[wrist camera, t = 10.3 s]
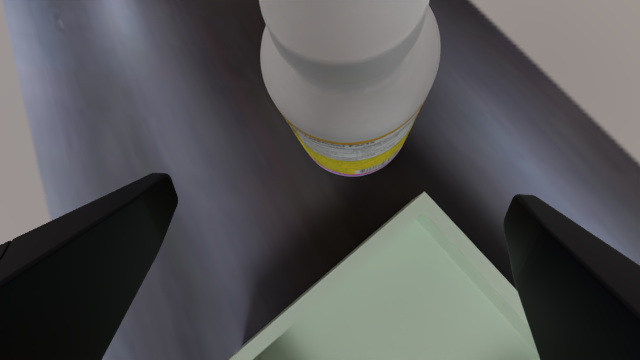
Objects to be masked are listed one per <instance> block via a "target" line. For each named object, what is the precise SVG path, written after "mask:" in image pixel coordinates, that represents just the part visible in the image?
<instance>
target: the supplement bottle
mask: <svg viewBox="0 0 640 360" xmlns="http://www.w3.org/2000/svg"><path fill="white" fill-rule="evenodd" d="M429 1H430V0H259V3H260V8H261V13H262V16H263V18H264V21H265V24H266V27H265V29H264V33H263V36H262V42H261V51H260V63H261V70H262V76H263V79H264V83H265V86H266V88H267V91H268V93H269V95H270V97H271V98H272V100H273V102H274V103H275V105H276V107H277V108H278V110H279V111H280V112H281V114H282V115H283V117H284V118H285V120H286V121H287V123H288V124H289V126H290V127H291V129H292V130H293V132H294V133H295V135H296V136H297V138H298V139H299V141H300V142H301V144H302V145H303V147H304V148H305V150H306V151H307V152H308V154H309V155H310V157H311V158H312V159H313V160H314V161H315V162H316V163H317V164H318V165H320V166H321V167H322V168H324V169H326V170H328V171H329V172H332V173H335V174H338V175H342V176H363V175H367V174H371V173H373V172H375V171H377V170H379V169H381V168H383V167H384V166H386V165H387V164H388V163H389V162H390V161H391V160H392V159H393V158H394V157H395V156H396V155H397V154H398V152H399V151H400V149H401V148H402V146H403V144H404V142H405V140H406V138H407V136H408V134H409V132H410V130H411V128H412V126H413V124H414V121H415V119H416V117H417V115H418V113H419V111H420V109H421V107H422V105H423V104H424V102H425V100H426V98H427V95H428V93H429V91H430V89H431V87H432V85H433V83H434V80H435V78H436V74H437V71H438V68H439V62H440V52H441V43H440V34H439V29H438V25H437V22H436V19H435V16H434V14H433V12H432V10H431V8H430V6H429Z"/></svg>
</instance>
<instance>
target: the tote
mask: <svg viewBox="0 0 640 360" xmlns="http://www.w3.org/2000/svg"><path fill="white" fill-rule="evenodd" d="M228 360H540V358H539V355H538V352H537V349H536V346H535V343H534V340H533V337H532V334H531V331H530V328H529V325H528V322H527V319H526V316H525V313H524V310H523V307H522V304H521V301H520V298H519V295H518V292H517V290H516V289H515V288H514V287H513V286H512V285H511V284H510V283H509V282H508V281H507V279H506V278H505V277H504V276H503V275H502V274H501V273H500V272H499V271H498V270H497V269H496V268H495V267H494V265H493V264H492V263H491V262H490V261H489V260H488V259H487V258H486V257H485V256H484V255H483V254H482V253H481V252H480V250H479V249H478V248H477V247H476V246H475V245H474V244H473V243H472V242H471V241H470V240H469V239H468V238H467V236H466V235H465V234H464V233H463V232H462V231H461V230H460V229H459V228H458V227H457V226H456V225H455V224H454V222H453V221H452V220H451V219H450V218H449V217H448V216H447V215H446V214H445V213H444V212H443V211H442V210H441V209H440V207H439V206H438V205H437V204H436V203H435V202H434V201H433V200H432V199H431V198H430V197H429V196H428V195H427V193H426V192H423V193H422V194H420V195H419V196H417V197H415V198H414V199H412V200H411V201H410V202H409V203H408V204H406V205H405V206H404V207H403V208H402V209H401V210H399V211H398V212H397V213H396V214H395V215H394V216H392V217H391V218H390V219H389V220H388V221H387V222H385V223H384V224H383V225H382V226H381V227H380V228H379V229H377V230H376V231H375V232H374V233H373V234H372V235H370V236H369V237H368V238H367V239H366V240H365V241H363V242H362V243H361V244H360V245H359V246H358V247H356V248H355V249H354V250H353V251H352V252H351V253H349V254H348V255H347V256H346V257H345V258H344V259H342V260H341V261H340V262H339V263H338V264H337V265H335V266H334V267H333V268H332V269H331V270H330V271H329V272H327V273H326V274H325V275H324V276H323V277H322V278H320V279H319V280H318V281H317V282H316V283H315V284H313V285H312V286H311V287H310V288H309V289H308V290H306V291H305V292H304V293H303V294H302V295H301V296H299V297H298V298H297V299H296V300H295V301H294V302H292V303H291V304H290V305H289V306H288V307H287V308H285V309H284V310H283V311H282V312H281V313H280V314H279V315H277V316H276V317H275V318H274V319H273V320H272V321H270V322H269V323H268V324H267V325H266V326H265V327H263V328H262V329H261V330H260V331H259V332H258V333H256V334H255V335H254V336H253V337H252V338H251V339H249V340H248V341H247V342H246V343H245V344H244V345H242V346H241V347H240V348H239V349H238V350H237V351H236V352H235V353H234V354H233V355H232V356H231V357H230V358H229V359H228Z"/></svg>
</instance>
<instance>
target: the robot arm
mask: <svg viewBox="0 0 640 360" xmlns="http://www.w3.org/2000/svg"><path fill="white" fill-rule="evenodd" d="M177 204H178V197H177V193H176V191H175V188H174V185H173V182H172V179H171V177H170V176H169V175H168V174H166V173H152V174H149V175H147V176H145V177H143V178H141V179H139V180H137V181H135V182H133V183H130V184H128V185H126V186H124V187H122V188H120V189H118V190H116V191H114V192H111V193H109V194H107V195H105V196H103V197H101V198H99V199H97V200H95V201H92V202H90V203H88V204H86V205H84V206H82V207H80V208H78V209H76V210H73V211H71V212H69V213H67V214H65V215H63V216H61V217H59V218H57V219H54V220H52V221H50V222H48V223H46V224H44V225H42V226H40V227H38V228H35V229H33V230H31V231H29V232H27V233H25V234H23V235H21V236H19V237H17V238H15V239H13V240H12V241H8V242H6V243H4V244H1V245H0V360H102V358H103V356H104V354H105V352H106V350H107V349H108V347H109V345H110V343H111V341H112V339H113V337H114V335H115V333H116V332H117V330H118V328H119V326H120V324H121V322H122V320H123V318H124V316H125V315H126V313H127V311H128V309H129V307H130V305H131V303H132V301H133V299H134V297H135V296H136V294H137V292H138V290H139V288H140V286H141V284H142V282H143V280H144V279H145V277H146V275H147V273H148V271H149V269H150V267H151V265H152V263H153V262H154V260H155V258H156V256H157V254H158V252H159V249H160V247H161V245H162V242H163V240H164V237H165V235H166V232H167V230H168V227H169V225H170V222H171V220H172V217H173V215H174V212H175V210H176V207H177ZM503 225H504V232H505V237H506V242H507V247H508V252H509V258H510V263H511V268H512V273H513V277H514V281H515V285H516V288H517V292H518V295H519V298H520V301H521V304H522V307H523V310H524V313H525V316H526V319H527V322H528V325H529V328H530V331H531V334H532V337H533V340H534V343H535V346H536V349H537V352H538V355H539V358H540V360H640V265H638V264H637V263H635V262H634V261H632V260H631V259H629V258H628V257H626V256H625V255H623V254H622V253H620V252H619V251H617V250H616V249H614V248H613V247H611V246H610V245H608V244H607V243H605V242H604V241H602V240H601V239H599V238H598V237H596V236H595V235H593V234H592V233H590V232H589V231H587V230H586V229H584V228H583V227H581V226H580V225H578V224H577V223H575V222H574V221H572V220H571V219H569V218H568V217H566V216H565V215H563V214H562V213H560V212H559V211H557V210H555V209H554V208H552V207H551V206H549V205H548V204H546V203H545V202H543V201H542V200H540V199H539V198H537V197H536V196H534V195H521V194H517V195H515V196H514V197H513V199H512V201H511V203H510V206H509V208H508V211H507V213H506V216H505V218H504V224H503Z"/></svg>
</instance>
